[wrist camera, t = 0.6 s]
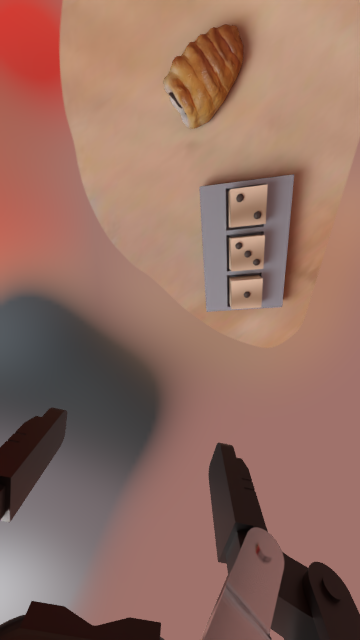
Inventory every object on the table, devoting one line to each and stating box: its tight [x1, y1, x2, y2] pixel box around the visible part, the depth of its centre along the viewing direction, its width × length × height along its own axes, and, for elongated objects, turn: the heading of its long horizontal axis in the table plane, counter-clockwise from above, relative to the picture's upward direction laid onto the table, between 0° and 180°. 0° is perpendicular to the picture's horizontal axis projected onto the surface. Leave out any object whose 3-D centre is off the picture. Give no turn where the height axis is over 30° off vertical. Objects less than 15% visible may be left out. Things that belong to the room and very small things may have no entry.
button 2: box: [228, 184, 268, 227], centre depth 28 cm, size 4×4×3 cm
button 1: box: [229, 275, 263, 309], centre depth 33 cm, size 4×4×3 cm
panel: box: [200, 174, 294, 312], centre depth 33 cm, size 18×12×2 cm, turn 6°
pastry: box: [163, 25, 243, 129], centre depth 25 cm, size 9×7×4 cm
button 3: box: [229, 235, 265, 271], centre depth 31 cm, size 4×4×3 cm
